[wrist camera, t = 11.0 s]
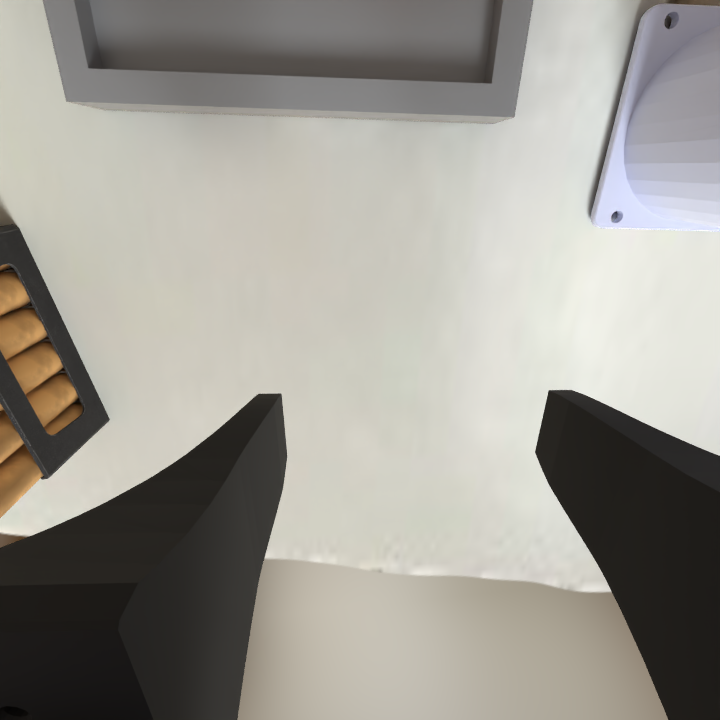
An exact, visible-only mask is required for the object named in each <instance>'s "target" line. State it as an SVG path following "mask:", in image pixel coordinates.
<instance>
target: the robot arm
mask: <svg viewBox="0 0 720 720" xmlns="http://www.w3.org/2000/svg"><path fill="white" fill-rule="evenodd" d="M667 15H668V16H670V17H671V26H670V28H669V29H667V28H666V27H665V25H664V23H665V18H666V16H667ZM615 211H617V213H618V216H617V218H616V220H614V221H613V222H612V221H611V216H612V214H613V213H614V212H615ZM591 222H592V224H593V225H594V226H596V227H600V228H617V229H653V230H690V231H720V6H710V5H687V4H664V3H662V4H657V5H655V6H653V7H651V8H650V9H648V10H647V11H646V12H645V13H644V14H643V16H642V18H641V20H640V23H639V27H638V31H637V35H636V39H635V43H634V47H633V51H632V55H631V59H630V63H629V67H628V71H627V74H626V78H625V82H624V86H623V90H622V94H621V98H620V102H619V106H618V110H617V114H616V118H615V122H614V126H613V130H612V134H611V138H610V142H609V146H608V150H607V154H606V158H605V162H604V166H603V170H602V174H601V177H600V181H599V185H598V189H597V193H596V197H595V201H594V205H593V209H592V213H591ZM535 453H536V455H537V458H538V460H539V463H540V465H541V468H542V470H543V472H544V475H545V477H546V479H547V481H548V483H549V485H550V487H551V489H552V490H553V492H554V494H555V495H556V497H557V499H558V500H559V502H560V504H561V505H562V507H563V509H564V510H565V512H566V514H567V515H568V517H569V518H570V520H571V522H572V523H573V525H574V526H575V528H576V530H577V531H578V533H579V535H580V536H581V538H582V539H583V541H584V543H585V544H586V546H587V547H588V549H589V551H590V552H591V554H592V556H593V557H594V559H595V561H596V562H597V564H598V566H599V568H600V569H601V571H602V573H603V575H604V577H605V579H606V581H607V583H608V585H609V587H610V589H611V591H612V593H613V595H614V597H615V599H616V601H617V603H618V605H619V607H620V609H621V611H622V613H623V615H624V617H625V620H626V622H627V624H628V626H629V629H630V631H631V633H632V635H633V638H634V640H635V642H636V644H637V646H638V649H639V651H640V653H641V655H642V657H643V660H644V662H645V664H646V667H647V669H648V672H649V674H650V676H651V679H652V681H653V684H654V686H655V688H656V691H657V693H658V696H659V698H660V700H661V703H662V705H663V707H664V710H665V712H666V715H667V717H668V720H720V456H718V455H716V454H713V453H711V452H708V451H706V450H703V449H701V448H698V447H696V446H694V445H692V444H689V443H687V442H685V441H682V440H680V439H678V438H675V437H673V436H671V435H669V434H666V433H664V432H662V431H660V430H658V429H656V428H653V427H651V426H649V425H647V424H645V423H643V422H641V421H639V420H637V419H635V418H632V417H630V416H628V415H626V414H624V413H622V412H620V411H618V410H616V409H614V408H612V407H610V406H608V405H606V404H603V403H601V402H599V401H597V400H595V399H593V398H590V397H588V396H586V395H583V394H581V393H578V392H575V391H572V390H549V392H548V396H547V401H546V405H545V410H544V414H543V419H542V423H541V428H540V433H539V437H538V442H537V446H536V451H535ZM286 461H287V449H286V438H285V427H284V416H283V406H282V395H281V394H258V395H257V396H255V397H254V398H253V399H252V400H251V401H250V402H249V403H247V404H246V405H245V406H244V407H243V408H242V409H241V410H240V411H239V412H238V413H236V414H235V415H234V416H233V417H232V418H231V419H230V420H228V421H227V422H226V423H225V424H224V425H223V426H222V427H220V428H219V429H218V430H217V431H216V432H214V433H213V434H212V435H211V436H209V437H208V438H207V439H205V440H204V441H203V442H202V443H200V444H199V445H198V446H196V447H195V448H194V449H193V450H191V451H190V452H189V453H187V454H186V455H185V456H183V457H182V458H180V459H179V460H177V461H176V462H174V463H173V464H172V465H170V466H168V467H167V468H165V469H164V470H162V471H161V472H159V473H157V474H156V475H154V476H153V477H151V478H149V479H148V480H146V481H144V482H142V483H141V484H139V485H137V486H135V487H133V488H131V489H130V490H128V491H126V492H124V493H122V494H120V495H119V496H117V497H115V498H113V499H111V500H109V501H108V502H106V503H104V504H102V505H100V506H98V507H95V508H93V509H91V510H89V511H87V512H85V513H83V514H81V515H79V516H77V517H74V518H72V519H70V520H67V521H65V522H63V523H61V524H58V525H56V526H54V527H52V528H49V529H47V530H45V531H42V532H40V533H37V534H35V535H32V536H30V537H27V538H25V539H22V540H20V541H17V542H14V543H11V544H9V545H6V546H4V547H1V548H0V720H237V718H238V710H239V703H240V696H241V689H242V682H243V675H244V667H245V662H246V655H247V648H248V642H249V636H250V629H251V623H252V617H253V611H254V605H255V599H256V593H257V587H258V582H259V577H260V573H261V569H262V564H263V561H264V557H265V553H266V550H267V546H268V542H269V539H270V535H271V531H272V528H273V524H274V520H275V516H276V513H277V509H278V505H279V501H280V498H281V494H282V490H283V484H284V477H285V469H286Z"/></svg>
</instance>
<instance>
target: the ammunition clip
mask: <svg viewBox="0 0 720 720" xmlns="http://www.w3.org/2000/svg"><path fill="white" fill-rule="evenodd" d="M109 420H110V419H109V417H108V415H107V413H106V411H105V408H104V406H103V404H102V402H101V400H100V398H99V396H98V394H97V392H96V389H95V387H94V385H93V383H92V381H91V379H90V377H89V375H88V373H87V370H86V368H85V366H84V364H83V362H82V360H81V358H80V356H79V354H78V351H77V349H76V347H75V345H74V343H73V341H72V339H71V337H70V335H69V333H68V330H67V328H66V326H65V324H64V322H63V320H62V318H61V316H60V314H59V311H58V309H57V307H56V305H55V303H54V301H53V299H52V297H51V295H50V292H49V290H48V288H47V286H46V284H45V282H44V280H43V278H42V276H41V273H40V271H39V269H38V267H37V265H36V263H35V261H34V259H33V257H32V254H31V252H30V250H29V248H28V246H27V244H26V242H25V240H24V238H23V235H22V233H21V231H20V229H19V228H18V227H16V226H14V225H7V226H0V518H1V517H2V516H3V515H4V514H5V513H6V512H7V511H8V510H9V509H10V508H11V507H12V506H13V505H14V504H15V503H16V502H17V501H18V500H19V499H20V498H21V497H22V496H23V495H24V494H25V493H26V492H27V491H28V490H29V489H30V488H31V487H32V486H33V485H34V484H35V483H36V482H37V481H38V480H39V479H40V478H41V479H48V478H49V477H50V476H51V475H52V474H53V473H55V472H56V471H57V470H58V469H59V468H60V467H61V466H62V465H63V464H64V463H65V462H66V461H67V460H68V459H69V458H70V457H71V456H72V455H73V454H74V453H75V452H77V451H78V450H79V449H80V448H81V447H82V446H83V445H84V444H85V443H86V442H87V441H88V440H89V439H90V438H91V437H92V436H93V435H94V434H96V433H97V432H98V431H99V430H100V429H101V428H102V427H103V426H104V425H105V424H106V423H107V422H108V421H109Z"/></svg>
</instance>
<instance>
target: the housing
mask: <svg viewBox="0 0 720 720" xmlns="http://www.w3.org/2000/svg"><path fill="white" fill-rule="evenodd" d="M43 3H44V8H45V12H46V16H47V20H48V25H49V29H50V33H51V37H52V42H53V46H54V50H55V55H56V59H57V63H58V67H59V72H60V76H61V80H62V85H63V89H64V93H65V97H66V102H71V103H75V104H80V105H84V106H89V107H93V108H97V109H102V110H114V111H143V112H172V113H201V114H229V115H258V116H287V117H316V118H345V119H373V120H402V121H431V122H460V123H489V124H493V123H497V122H500V121H504V120H507V119H510V118H514V116H515V110H516V104H517V98H518V91H519V85H520V79H521V73H522V67H523V61H524V54H525V48H526V42H527V36H528V30H529V23H530V17H531V11H532V5H533V0H43Z"/></svg>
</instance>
